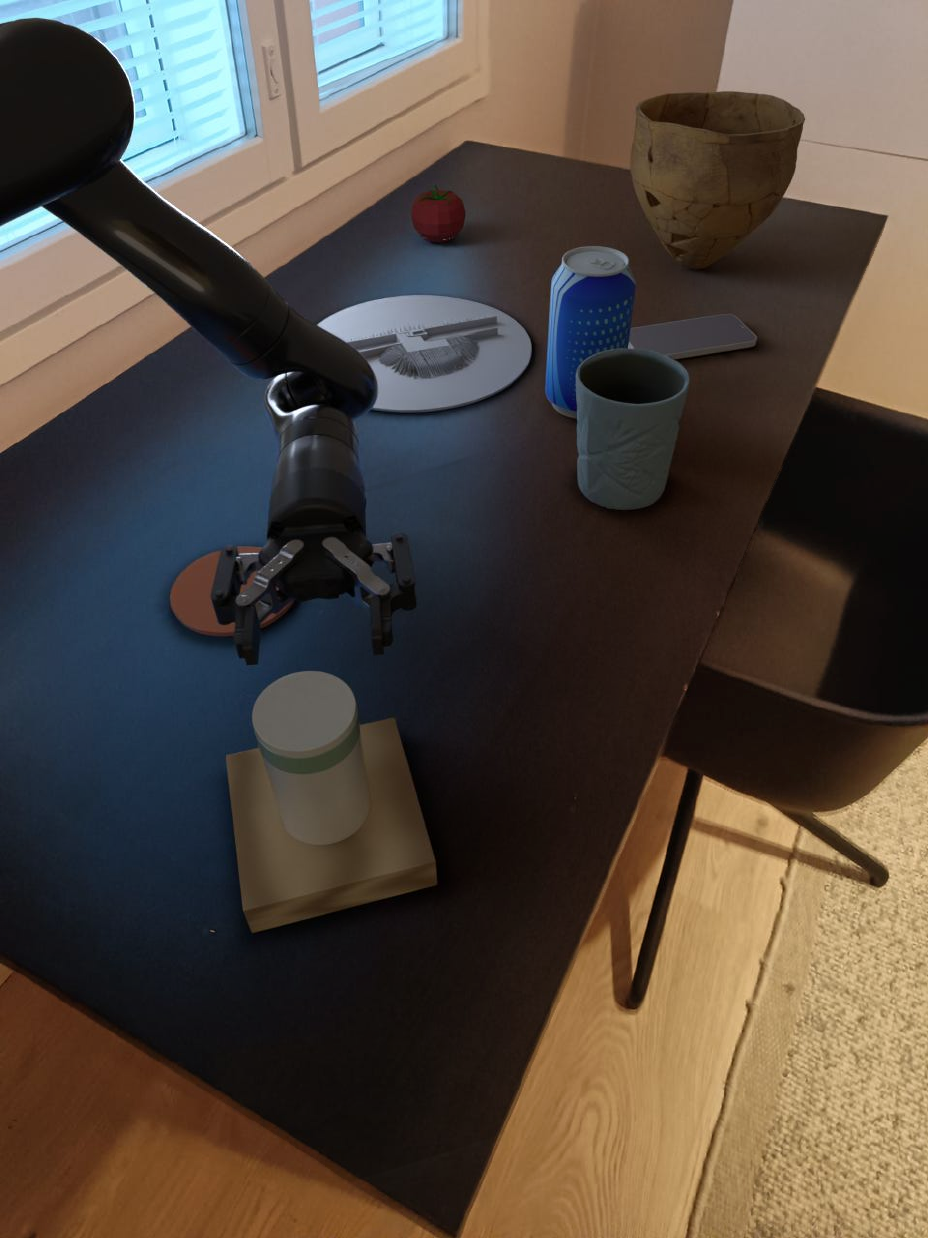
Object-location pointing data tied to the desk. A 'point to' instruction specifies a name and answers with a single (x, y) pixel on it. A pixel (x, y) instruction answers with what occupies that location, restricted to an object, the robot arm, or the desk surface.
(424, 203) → the tomato
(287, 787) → the canister
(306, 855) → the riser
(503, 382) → the plate
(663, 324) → the smartphone
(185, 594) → the coaster
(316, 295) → the desk surface
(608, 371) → the embossed ceramic tumbler
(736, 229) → the bowl
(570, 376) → the beer can
